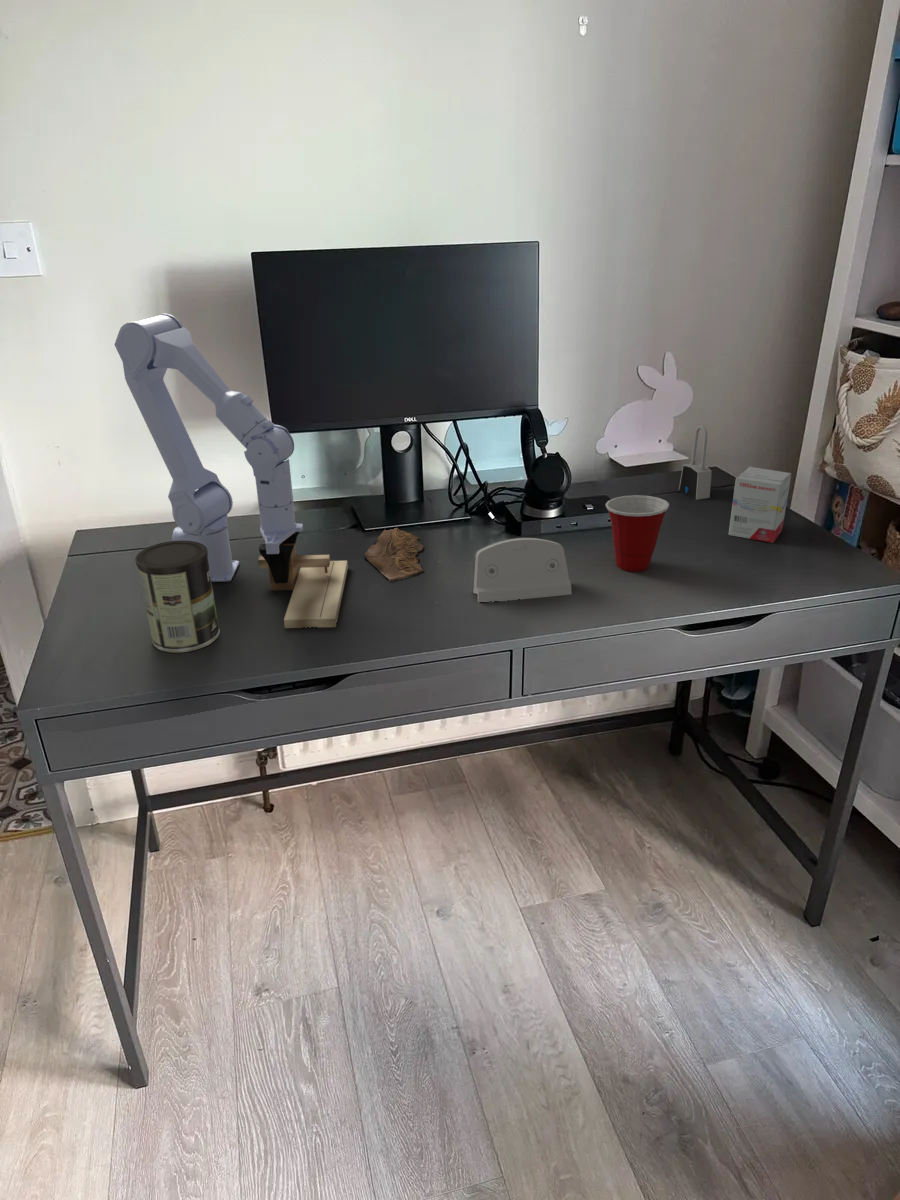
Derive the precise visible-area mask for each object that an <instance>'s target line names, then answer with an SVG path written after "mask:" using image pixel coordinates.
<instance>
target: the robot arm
mask: <svg viewBox="0 0 900 1200" xmlns="http://www.w3.org/2000/svg"><path fill="white" fill-rule="evenodd" d="M114 347H115V349H116V352H117V353H118V355H119V358H120V359H121V362H122V368H123V373H124V379H125V383H126V385H127V387H128V389H129V391H130V393H131V394H132V397H133V399H134V401H135V404H136V405H137V408H138V410H139V411H140V414H141V416H142V418H143V420H144V422H145V424H146V427H147V428H148V430H149V433H150V434H151V437H152V439H153V441H154V443H155V445H156V448H157V450H158V452H159V454H160V456H161V458H162V460H163V462H164V464H165V467H166V468H167V471H168V472H169V475H170V477H171V478H172V482H171V486H170V488H169V492H168V494H167V497H168V500H169V502H170V504H171V509H172V510H171V511H172V513H171V514H172V518H173V520H174V523H175V524H176V525H177V526H176V527H174V528H173V531H172V534H171V535H172V536H171V541H194V542H198V543H201V544H203V545H205V546H206V548H207V550H208V562H209V569H210V576H211V582H213V583H219V582H231V581H232V579H233V578H234V575H235V573H236V571H237V569H238V566H239V565H240V561H239V560H233V557H232V550H231V544H230V542H231V541H230V536H229V529H228V521H229V518H228V514H230V512H231V511H232V509H233V503H234V502H233V498H232V497H233V496H232V494H231V493H230V492H229V490H228V488H227V487H226V486H224V485H223V484H222V482H221V481H220V479H219V477H218V475H217V474H216V473H215V472H213V471H211V470H209V469H207V468H205V467H204V466H203V462H202V461H201V459H200V457H199V454H198V453H197V452H198V451H197V450H196V448H195V446H194V444H193V442H192V440H191V438H190V435H189V433H188V431H187V429H186V427H185V424H184V422H183V420H182V418H181V416H180V413H179V412H178V409H177V407H176V405H175V403H174V401H173V399H172V396H171V394H170V392H169V389H168V388H167V385H166V383H165V382H164V378H165V375H166V373H167V370H168V369H171V370H172V369H173V370H177V371H179V372H180V373H181V374H182V375H183V376H184V377H185V378H186V379H187V380H188V381H189V382H190V383H191V384H192V385H193V386H195V387H196V388H197V389H198V390H199V391H200V392H201V393H202V394H203V395H204V396H205V397H206V399H207V398H208V399H209V401H210V402H212V403H213V404H214V406H215V417H216V419H218V420H219V421H220V423H222V425H224V426H225V427H226V429H227V430H228V431H229V432H230V433H231V434H232V435H233V436H234V437H235V439H236V440H238V441H239V444H241V445H242V446H243V447H244V448H245V449H246V450H244V452H243V453H244V456H245V460H246V461H247V463H248V464H249V465H250V466H251V468H252V471H253V472H252V473H253V477H254V478H255V485H256V493H257V503H258V514H259V519H260V527H259V531H260V535H262V537H263V540H264V541H265V543H260V544H259V547H258V549H259V550H258V551H259V554H260V556H263V558H264V559H265V560H266V562H267V564H268V566H269V568H270V571H271V574H272V576H273V579H274V581H275V583H287V582H288V578H289V563H290V557H291V553H292V551H293V548H294V545H284V544H293V543H295V545H296V543H297V538H298V537H299V535H300V532H303V530H304V524H303V523H296V515H295V505H294V496H293V486H292V476H291V475H292V474H291V465H290V459H289V458H290V457H291V456H292V455H293V454H294V451H295V442H294V439H293V437H292V435H291V433H290V432H289V430H288V429H287V428H286V427H284V426H283V425H279V424H275V423H273V422H272V421H271V420H270V419H269V420H268V418H267V417H266V416H265V415H264V414H263V413H262V412H261V410H259V408H257V406H256V405H255V404H254V403H253V402H254V400H253V399H252V397H250V396H249V395H245V394H244V392H241V391H235V390H232V389H230V388H229V386H228V385H227V383H226V382H225V381H224V380H223V379H222V378H221V376H220V375H219V373H218V372H216V370H215V369H214V368H213V367H212V365H211V364H210V363H209V362H208V360H207V359H206V357H204V355H203V354H202V353H201V352H200V350H199V349H198V348H197V347H196V345H195V343H194V341H193V338H192V333H191V331H190V330H188V329H187V328H186V327H184V326H183V324H182V322H181V321H180V320H179V319H178V318H177V317H175V316H174V315H173V314H169V313H161V314H158V315H156V316H152V317H149V318H144V319H141V320H136V321H129V322H126V323H124V324H123V325H121V327H120V328H119V331H118V332H117V336H116V339H115V342H114ZM269 568H268V569H269Z"/></svg>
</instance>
